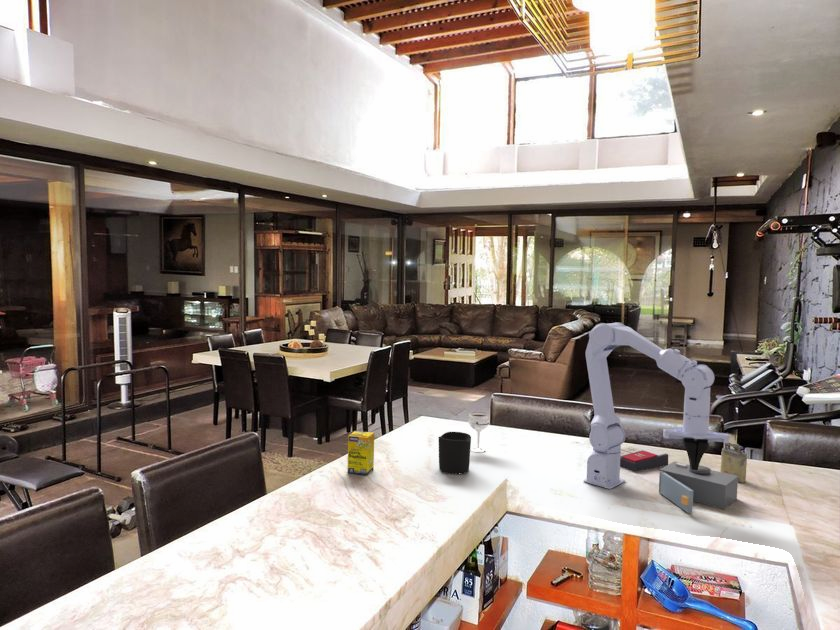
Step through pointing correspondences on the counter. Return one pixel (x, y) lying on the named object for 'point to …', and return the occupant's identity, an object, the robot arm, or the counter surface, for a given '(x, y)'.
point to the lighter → (734, 461)
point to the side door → (676, 492)
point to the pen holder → (454, 452)
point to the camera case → (705, 484)
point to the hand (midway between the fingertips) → (693, 468)
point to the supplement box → (360, 452)
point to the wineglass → (478, 423)
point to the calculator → (642, 458)
